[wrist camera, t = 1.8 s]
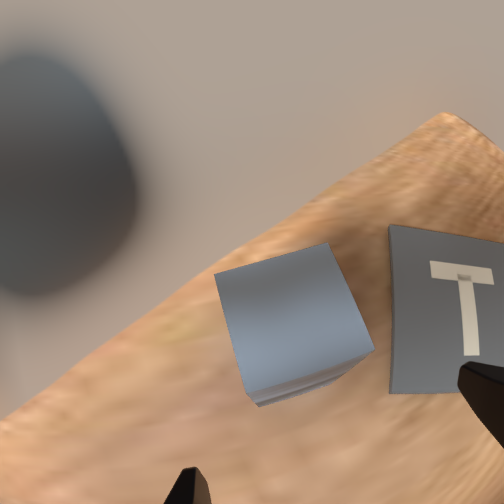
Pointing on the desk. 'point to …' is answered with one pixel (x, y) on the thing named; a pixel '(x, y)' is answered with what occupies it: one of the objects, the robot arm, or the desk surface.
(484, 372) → the robot arm
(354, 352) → the grey rectangular block
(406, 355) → the board
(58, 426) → the desk surface
